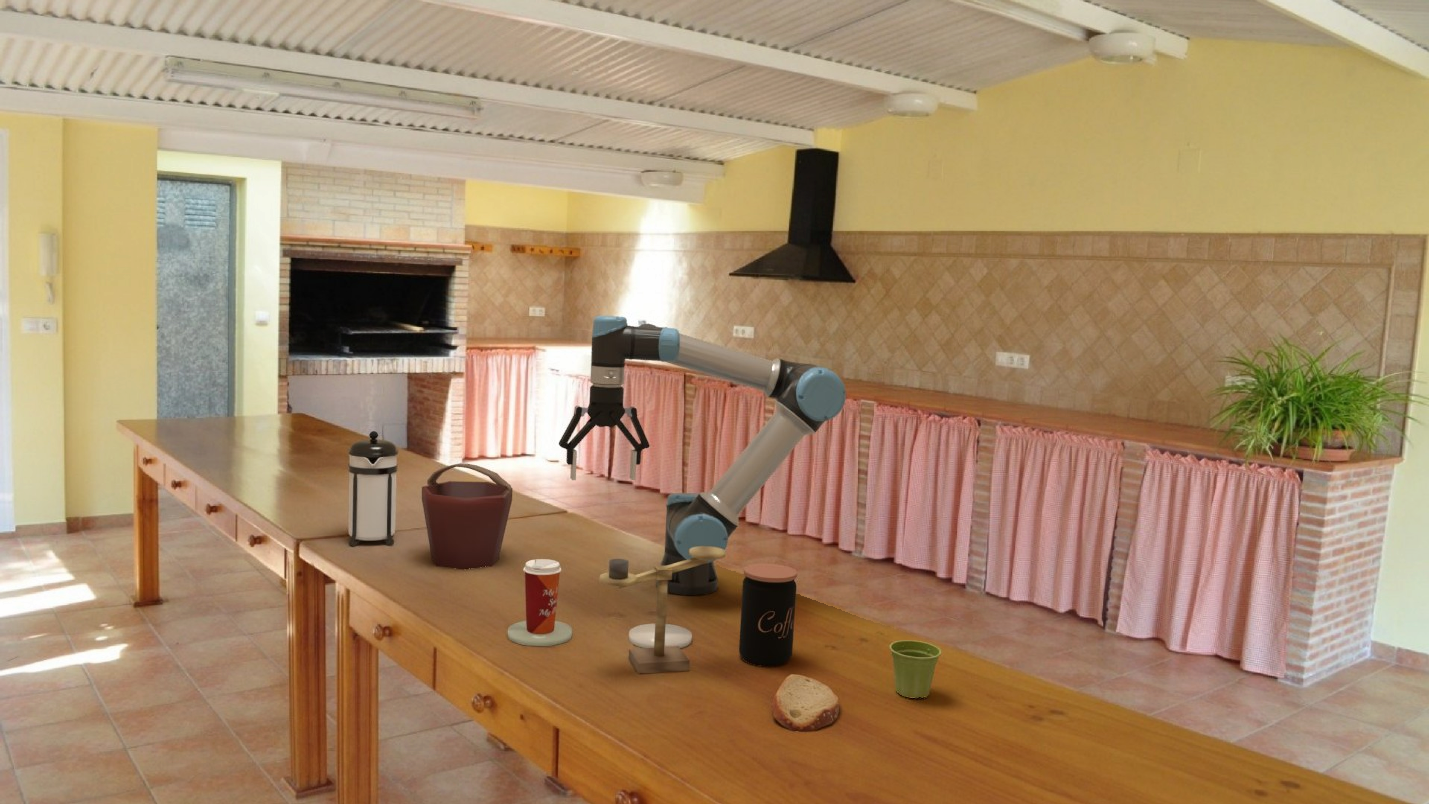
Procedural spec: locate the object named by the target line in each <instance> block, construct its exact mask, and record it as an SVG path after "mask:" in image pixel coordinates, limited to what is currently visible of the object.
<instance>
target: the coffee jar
mask: <svg viewBox="0 0 1429 804" xmlns="http://www.w3.org/2000/svg"><path fill="white" fill-rule="evenodd" d="M743 575H744V576H745V577H744V579H743V580H742V588H741V589H742V591H741V593H742V594H741V608H740V609H741V610H740V628H739V642H738V643H739V645H738V653H739V655H740V657H741V659H742V660H743V659H744V660H743V661H744V662H746V661H747V662H746V663H748V664H750V663H751V665H753V664H755V665H754V666H757V665H761V666H760V667H765V666H769V668H771V666H774V667H780V666H784V665H786V664H787V663H788V662H789V661H790V660H791V658H792V656H793V650H794V649H793V646H794V645H793V644H794V630H795V616H796V615H795V614H796V601H797V583H796V581H795V580H796V579H797V577H798V572H797V570H796V569H794V568H793V567H790V566H786V565H783V564H776V563H765V562H763V563H753V564H749V565H746V566H745V567H744V568H743ZM785 663H786V664H785ZM783 664H784V665H783Z"/></svg>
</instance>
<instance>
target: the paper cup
mask: <svg viewBox="0 0 1429 804" xmlns="http://www.w3.org/2000/svg"><path fill="white" fill-rule="evenodd" d="M524 565H525V566H524V567H523V569H522V570H523V572H524V584H525V585H524V586H525V587H524V588H525V589H524V590H525V617H526V618H525V621H526V626H527V631H528V632H530V633H533V634H548V633H551V632H553V631H554V626H555V621H556V614H557V606H558V596H559V595H558V594H559V584H560V574H561V572H562V568H561V564H560V562H559V561H557V560H554V559H547V558H546V559H545V558H541V559H540V558H538V559H531V560H528V561H526V562H525V564H524Z"/></svg>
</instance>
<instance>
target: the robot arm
mask: <svg viewBox="0 0 1429 804" xmlns="http://www.w3.org/2000/svg"><path fill="white" fill-rule="evenodd" d="M592 323H593V324H592V333H591V357H590V359H591V360H590V362H591V363H590V378H589V381H590V384H592V385H590V387H589V402H588V403H589V404H588V406H587V407H584V406H580V405H576V406H575V407H574V412H573V415H572V417H571V419H570V421H569V423H568V425H567V427H566V429H565V431H564V432H563V434H562V436H561V438H560V440H559V442H558V445H559V447H561V448H562V449H565V450H566V459H565V460H566V463H567V465H568V466H569V465H570V479H571V480H572V481H576V480H577V461H578V460H577V458H578V451H577V450H576V449H575V448H576V447H577V446H578V445H579V443H581V442H582V440H584V438H585V437H587V435H588V434H589V433H590V432H591V431H592V430H593V429H594V428H595V427H596V426H597V427H599V428H605V427H607V428H614V427H615V426H616V427H617V428H618V429H619V431H621V433H622V434H623V436H624V437H625V438H626V439H627V440H628V443H630V444H631V445H632V447H633V448H634V449H630V461H629V462H630V463H629V479H631V480H633V481H636V478H637V477H636V475H637V473H636V472H637V466H639V465H641V459H642V451H643V450H645V449H649V447H650V446H651V445H650V443H649V440H648V439H647V436H646V434H645V431H644V430H643V427H642V424H641V422H640V420H639V417H638V410H637V408H636V407H634V406H630V407H626V408H625V407H624V392H625V389H624V387H623V385H624V384H625V366H626V360H631V361H632V360H637V361H639V360H641V361H653V362H654V361H655V362H664V363H667V364H671V365H674V366H678V367H681V368H685V369H687V370H691V371H694V372H698V373H701V374H705V375H708V376H711V377H715V378H717V379H721V380H725V381H729V382H731V383H735V384H739V385H742V386H745V387H749V388H752V389H755V390H759V391H762V392H763V394H764V396H765V397H767V398H771V399H774V400H776V401H775V412H774V413H773V414H772V416H771V417H770V418H769V419H768V421H767V422H766V423H765V424H764V425H763V427H761V429H760V430H759V432H757V434H756V435H755V436H754V437H753V439H752V440H751V441H750V442H749V443H748V444H747V446H746V447H745V448H744V450H743V451H742V452H741V453H740V454H739V455H738V457H736V459H735V460H734V462H733V463H732V464H731V465H730V466H729V467H728V468H727V470H726V471H725V472H724V474H723V475H722V476H721V477H720V478H719V480H718V481H717V482H716V483H715V484H714V486H713V487H712V488H711V489H710V490H708V491H701V492H699V493H698V492H695V493H692V492H675V493H670V494H669V495H668V496H667V499H666V504H665V508H666V514H665V515H666V518H665V534H664V535H665V536H664V554H663V557H662V560H661V562H660V565H659V566H667V565H671V564H674V563H677V562H681V561H684V560H687V559H691V558H694V557H692V556H690V555H689V550H690V548H693V547H698V546H710V547H717V548H721V549H723V550H725V551H726V548H727V546H728V541H729V537H730V536H731V535H732V534H733V533H734V531H736V529H737V528H738V527H739V525H740V524H739V521H740V520H739V517H740V514H741V513H742V511H743V510H744V509H746V507H747V505H748V504H749V503H750V502H751V501H752V499H754V497H755V496H756V494H757V493H758V492H759V491H760V489H761V488H762V487H763V486H764V485H765V484H766V482H767V481H769V479H770V478H771V476H772V475H773V474H774V473H775V472H776V470H778V468H779V467H780V465H781V464H782V463H783V462H784V461H785V460H786V458H788V456H789V455H790V454H791V452H792V451H793V450H794V449H795V447H797V445H798V444H799V442H801V441H802V439H804V437H805V436H807V435H815V434H816V433H817V432H818V430H819V429H820V428H821V426H822V425H823V424H825V422H827V421H830V420H832V419H834V418H835V417H837V416H838V415H839V414H840V413H841V411H842V410H843V408H844V406H845V403H846V400H847V399H846V397H847V393H846V392H847V391H846V386H845V383H844V382H843V380H842V379H841V377H840V376H838V374H836V373H835V372H834V371H832V370H831V369H830V368H827V367H823V366H818V365H815V364H813V363H812V364H811V363H804V362H803V363H802V362H795V361H789V360H784V359H782V358H777V357H776V358H774V359H773V360H770V359H766V358H764V357H760V356H757V355H754V354H750V353H746V352H743V351H740V350H736V349H733V348H730V347H727V346H723V345H720V344H716V343H713V342H710V341H707V340H703V339H700V338H697V337H693V336H690V335H687V334H683V333H680V332H679V330H678V329H677V328H674V327H672V328H671V327H668V326H665V327H663V326H662V327H660V326H657V325H655V324H651V323H643V324H640V325H639V326H634V325H633V326H632V325H628V320H627V318H626V317H625V316H615V315H597V316H596V317H594V318H593V322H592ZM585 414H588V416H589V419H588V420H587V421H586V423H585V425H583V427H582V428H580V430H579V431H578V432H577V433H576V434H575V436H574V437H572V435H573V433H574V431H575V430H576V428H577V426H578V424H579V423H580V421H581V418H582V417H584V416H585ZM625 414H626V415H627V417H628V418H629V419H630V421H631V423H632V425H633V427H634V430H635V432H636V435H637V437H638V439H639V441H640V442H638V440H636V438H635V437H634V436H633V434H632V433H631V432H630V430H628V427H626V426H625V424H624V422H623V421H622V420H621V419H622V418H623V416H624V415H625ZM571 437H572V439H571ZM570 439H571V440H570ZM716 560H717V559H714V560H709V562H708V563H704V564H701V565H698V566H694V567H691V568H688V569H684V570H681V571H678V572H674V573H672V580H668V587H667V593H668V594H669V593H670V594H675V595H684V596H691V595H692V596H698V595H706V594H711V593H713V592H715V591H716V590H718V583H719V579H718V574H717V571H716V567H715V563H714V561H716ZM655 586H656V588H657V579H656V578H655Z"/></svg>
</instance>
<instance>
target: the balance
mask: <svg viewBox="0 0 1429 804" xmlns="http://www.w3.org/2000/svg"><path fill="white" fill-rule="evenodd" d="M726 552H727V551H726V549H725V550H723V549H721V548H717V547H710V546H698V547H693V548H690V550H689V555H690V556H692V557H694V558H691V559H687V560H684V561H681V562H677V563H674V564H671V565H667V566H660V565H653V566H654V567H653V569H652V570H646V571H644V572H641V573H638V574H633V573H632V572H631V573H630V572H629V563H630V562H629V560H627V559H623V558H612V559H610V560H609V562H608V572H604V573H602V574H600V575H599V583H600V584H603V585H606V586H610V587H611V586H612V587H618V589H620V590H621V589H623V588H627V587H631V586H633V585H637V584H641V583H644V582H648V581H650V580H654V579H655V580H656V579H657V587H656V601H655V603H656V604H655V623H654V624H655V639H654V648H642V647H638V648H628V661H629V662H630V663H631V665H632V667H633V668H634V669H635V671H636V673H637V674H638V675H639V674H640V673H643V674H656V673H670V672H671V673H672V672H689V671H690V659H689V658H688V657H687V655H686V654H685V653H684V651H683V650H682V648H679V646H672V647H664V646H665V627H666V624H667V623H666V622H667V607H668V605H667V604H668V601H667V600H668V592H667V587H668V580H672V573H674V572H678V571H681V570H684V569H688V568H691V567H694V566H698V565H701V564H704V563H708V562H709V560H714V559H716V560H720V559H724V558H725V557H726ZM714 561H715V560H714ZM640 675H641V674H640Z"/></svg>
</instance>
